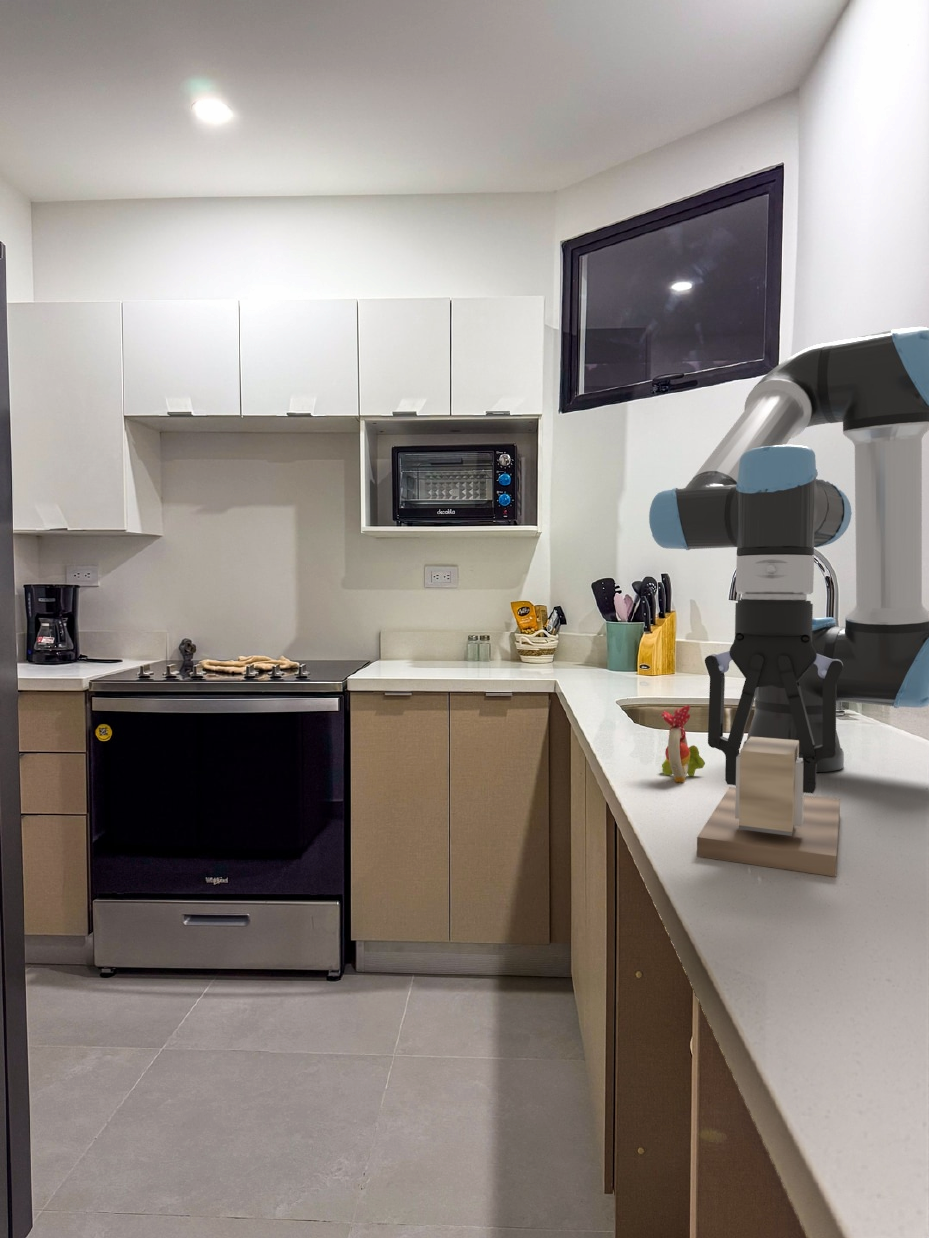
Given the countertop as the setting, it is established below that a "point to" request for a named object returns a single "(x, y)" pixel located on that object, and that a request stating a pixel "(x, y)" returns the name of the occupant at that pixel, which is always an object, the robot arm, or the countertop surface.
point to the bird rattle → (680, 748)
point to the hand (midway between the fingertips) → (769, 818)
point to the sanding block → (767, 785)
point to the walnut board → (775, 838)
